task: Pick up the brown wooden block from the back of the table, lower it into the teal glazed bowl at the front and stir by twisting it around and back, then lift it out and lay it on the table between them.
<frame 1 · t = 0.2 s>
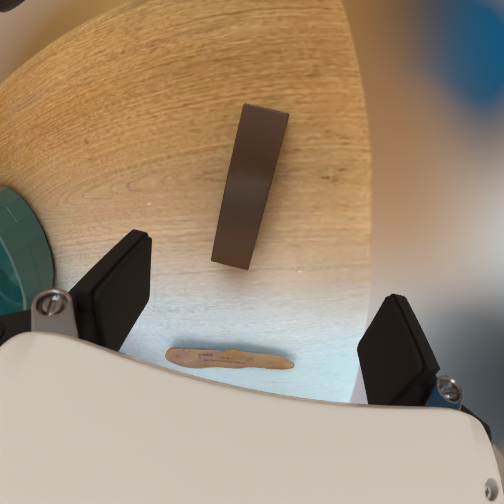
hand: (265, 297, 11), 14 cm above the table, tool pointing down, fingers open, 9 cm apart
stone tool: (229, 353, 32), on the table
mixing bowl: (14, 244, 29), on the table
brown wooden block: (251, 181, 23), on the table
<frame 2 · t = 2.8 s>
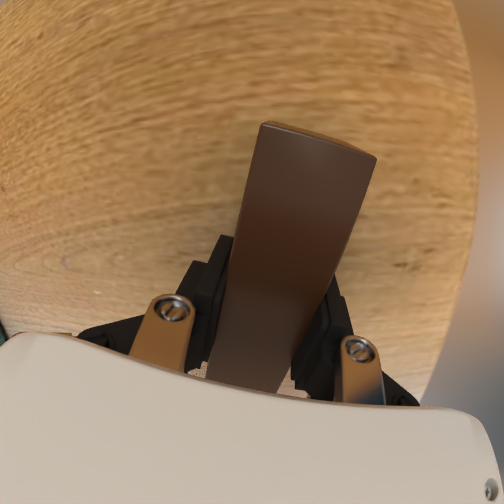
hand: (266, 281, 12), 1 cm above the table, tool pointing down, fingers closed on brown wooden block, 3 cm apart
brown wooden block: (267, 272, 12), on the table, touching gripper
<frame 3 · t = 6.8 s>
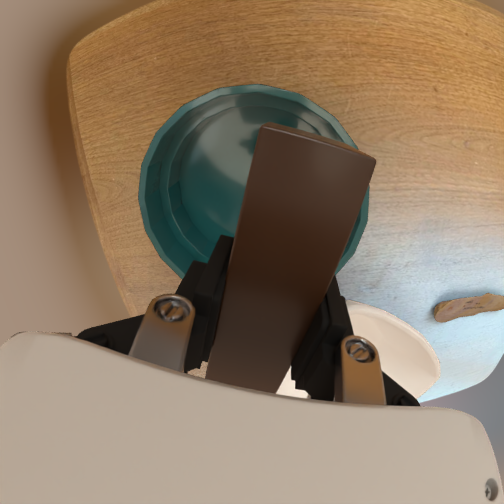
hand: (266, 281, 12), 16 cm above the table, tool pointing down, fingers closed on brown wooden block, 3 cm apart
stone tool: (472, 301, 30), on the table
mixing bowl: (257, 184, 26), on the table
bowl: (334, 337, 34), on the table
brown wooden block: (267, 273, 12), point 15 cm above the table, touching gripper
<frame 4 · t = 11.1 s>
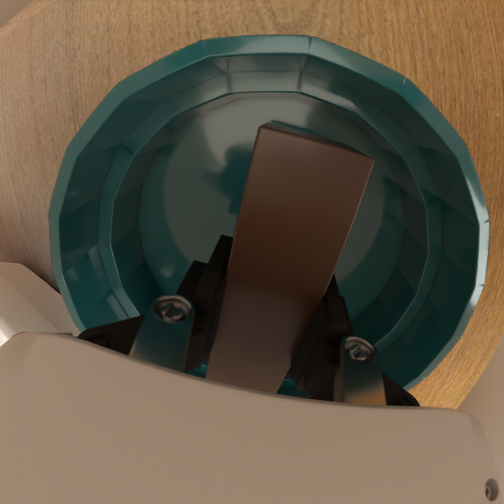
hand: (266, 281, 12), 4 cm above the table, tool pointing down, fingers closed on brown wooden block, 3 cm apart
mixing bowl: (270, 238, 15), on the table
bowl: (54, 319, 21), on the table
brown wooden block: (267, 273, 12), point 3 cm above the table, touching gripper
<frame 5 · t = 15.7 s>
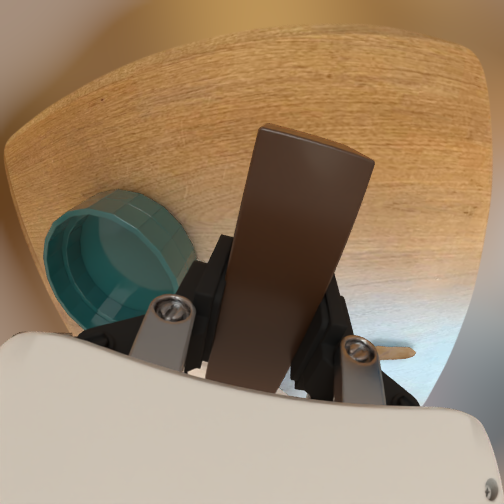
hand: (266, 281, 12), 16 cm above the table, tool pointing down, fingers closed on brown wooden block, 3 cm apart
stone tool: (365, 350, 35), on the table
mixing bowl: (130, 259, 32), on the table
brown wooden block: (267, 274, 12), point 16 cm above the table, touching gripper
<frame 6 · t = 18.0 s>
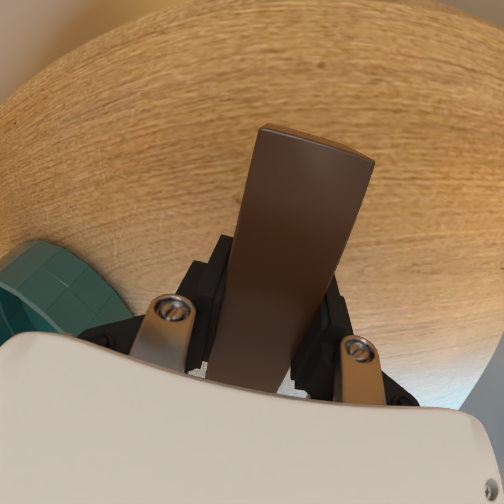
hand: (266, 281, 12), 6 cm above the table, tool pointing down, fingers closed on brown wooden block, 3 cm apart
mixing bowl: (70, 318, 23), on the table
brown wooden block: (267, 274, 12), point 5 cm above the table, touching gripper
when the fingers open (1 cm above the table, at t = 19.5 s): brown wooden block stays where it is, on the table.
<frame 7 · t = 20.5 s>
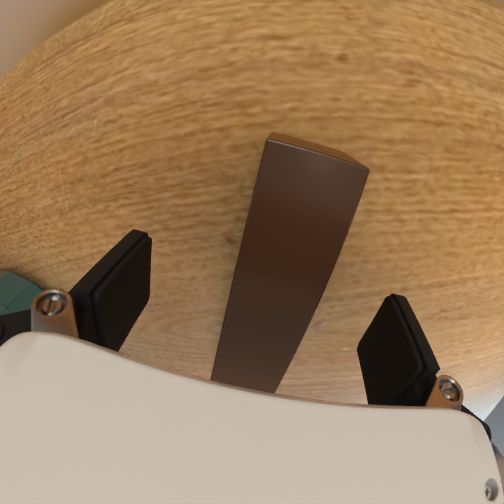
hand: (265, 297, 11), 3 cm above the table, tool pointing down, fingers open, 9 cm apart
mixing bowl: (50, 351, 19), on the table
brown wooden block: (271, 272, 13), on the table
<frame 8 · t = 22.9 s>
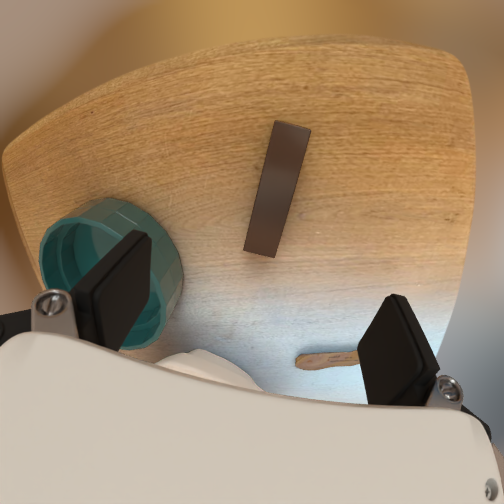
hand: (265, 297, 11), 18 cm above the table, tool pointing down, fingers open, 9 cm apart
stone tool: (348, 353, 37), on the table
mixing bowl: (120, 263, 33), on the table
bowl: (210, 372, 41), on the table
brown wooden block: (275, 183, 27), on the table
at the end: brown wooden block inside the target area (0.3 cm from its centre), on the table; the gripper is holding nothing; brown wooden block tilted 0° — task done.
